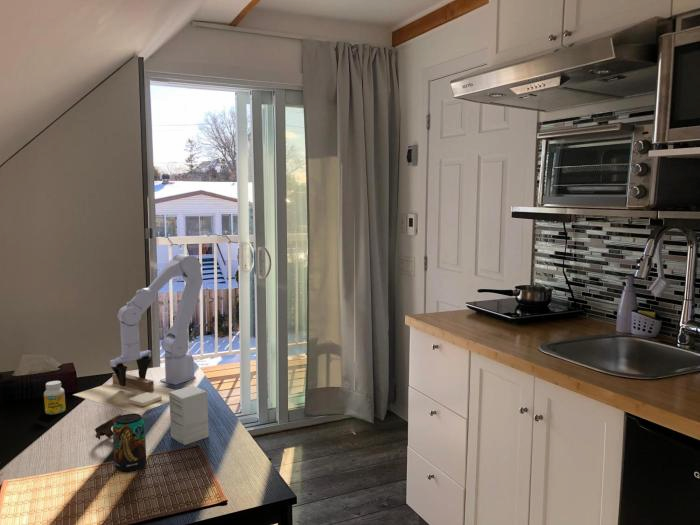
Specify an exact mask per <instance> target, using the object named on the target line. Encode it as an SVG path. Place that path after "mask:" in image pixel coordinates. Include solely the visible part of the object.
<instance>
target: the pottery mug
mask: <svg viewBox="0 0 700 525" xmlns="http://www.w3.org/2000/svg"><path fill="white" fill-rule="evenodd" d="M121 415H122V413H119V414H117V415H115V416H114V417H112V418H111V419H109V420H108V421H106V422H104V423H101V424H100V425H99V426H97V427H96V428H94V431H95V433H96V434H95V439H98V440H101V437H103V436H105V437H107V438H108V439H111V438H113V429H112V428H113V425H114V424H115V419H116V418H117V417H119V416H121ZM141 419H142V420H143V421H144V419H143V417H142V416H141Z"/></svg>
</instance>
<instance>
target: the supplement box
mask: <svg viewBox="0 0 700 525" xmlns="http://www.w3.org/2000/svg"><path fill="white" fill-rule="evenodd" d="M174 390H175V391H171V392H169V402H168V403H169V415H170V437H171V438H172V439H173V440H175V441H177V442H178V443H180V444H182V445H183V446H186V445H189V444H192V443H195V442H198V441H200V440H203V439H206V438H209V437H210V432H209V431H210V430H209V406H208V392H207V391H206V390H204V389H202V388H201V387H200V388H199V387H197V386H194V385H190V386H186V387H182V388H180V389H174Z"/></svg>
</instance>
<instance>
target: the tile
mask: <svg viewBox="0 0 700 525" xmlns="http://www.w3.org/2000/svg"><path fill="white" fill-rule="evenodd" d="M161 399H162V396H160V395H156V394H152V393H148V392H146V393H143V394H140V395H138V396H135V397H132V398H129V399H128V402H129V403H132V404H136V405H139V406H146V405H149V404H151V403H154V402H157V401H159V400H161Z"/></svg>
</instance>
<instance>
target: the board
mask: <svg viewBox="0 0 700 525" xmlns="http://www.w3.org/2000/svg"><path fill="white" fill-rule="evenodd" d="M175 390H176V389H173V388H169V387H166V386H161V385H158V384H157V385H156V384H154V390H153V391H150V392H148V393H152V394H156V395H160V396H162V399H161V400H159V401H157V402H154V403H151V404H149V405H146V406H139V405H136V404H132V403H129V402H128V399H129V398H132V397H135V396H138V395H140V394H143V393H146V392H144V391H140V390H137V389H133V388H129V387H125V386H120V385H117V384H114V383H113V381H112V382H109V383H105V384H103V385H99V386H96V387H93V388H90V389H86V390H83V391H80V392H77V393H74V394H72V396H75V397H79V398H82V399H86V400H89V401H92V402H96V403H99V404H102V405H106V406H109V407H112V408H116V409H119V410H123V411H127V412H129V413H131V414H139V415H140V414H141V413H143V412H147V411H149V410H151V409H154V408H157V407H159V406H162V405H165V404H168V403H170V402H169V392H171V391H175ZM145 415H146V413H145V414H143V416H145Z"/></svg>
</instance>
